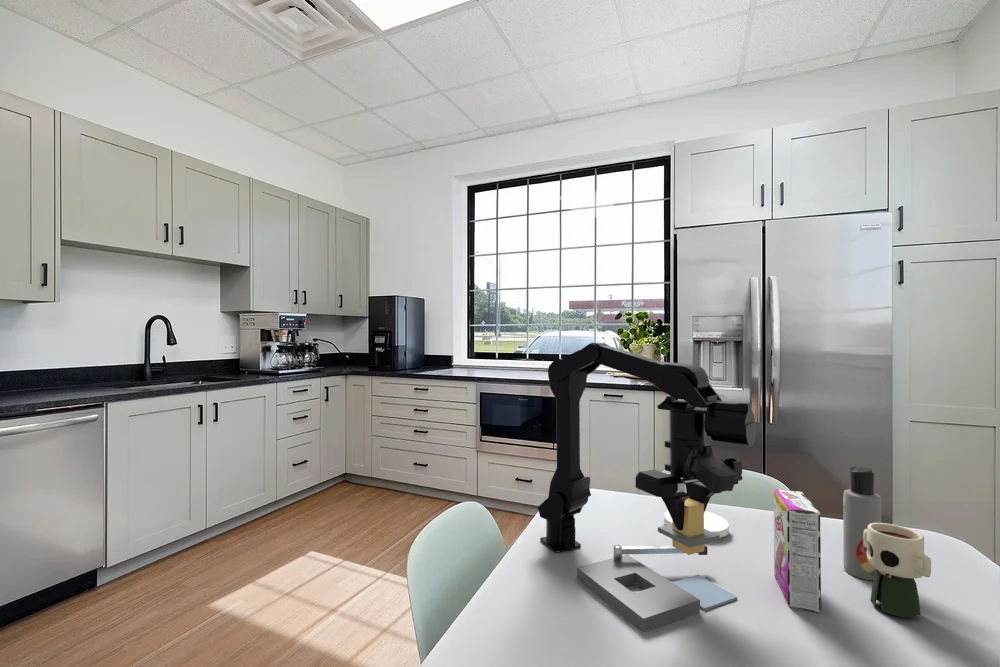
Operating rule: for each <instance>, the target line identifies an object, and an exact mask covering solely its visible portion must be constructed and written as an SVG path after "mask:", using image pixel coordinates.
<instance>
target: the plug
mask: <svg viewBox="0 0 1000 667" xmlns="http://www.w3.org/2000/svg"><path fill="white" fill-rule="evenodd" d="M657 532H658V533H660V534H661V535H664V536H665V537H666V538H667V537H668V538H670V539H671V540H672V543H671V546H673V547H675V548H676V549H678V550H680V551H682V552H684V553H683V554H685V555H686V554H687V555H688V556H690V555H694V554H695V555H696V554H698V553H699V552H703V551H704V544H705V545H706V544H709V543H714V542H717V541H720V540H721V538H720V535H718V534H715V533H713V532H711V531H709V530H706V529H704V504H703V503H700V502H698V501H695V500H693V499H690V498H688V499H687V500H686V501H685V505H684V524H683V530H681V531H680V530H678V529H677V528H676V526H675V524H674V522H673V520H672V524H670V525H661V526H657Z"/></svg>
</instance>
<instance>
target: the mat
mask: <svg viewBox="0 0 1000 667" xmlns="http://www.w3.org/2000/svg"><path fill="white" fill-rule="evenodd" d="M671 582H672V581H671ZM672 583H674V584H675V585H677V586H679V587H680V588H682V589H683V590H685V591H687V592H688V593H690V594H691V595H693V596H695V597H696V598H698V599H699V600H700V610H702V611H703V612H704V611H708V610H710V609H714V608H717V607H719V606H720V607H721V606H722V605H726V604H727V603H730V602H733V601H736V600H738V596H737V595H735V594H733V593H731V592H729V591H728V590H726V589H724V588H722V587H721V586H719V585H717V584H716V583H714V582H712V581H710V580H708V579H706V578H705V577H703V576H702V575H700V574H697V575H694V576H690V577H686V578H683V579H680V580H677V581H673V582H672Z"/></svg>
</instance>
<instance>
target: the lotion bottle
mask: <svg viewBox="0 0 1000 667" xmlns="http://www.w3.org/2000/svg"><path fill="white" fill-rule="evenodd" d="M873 471H874V470H873V469H872V468H869V467H866V466H865V467H863V466H862V467H859V466H853V467H850V468H849V489H845V490H844V491H843V495H842V496H843V500H842V501H843V504H842V506H843V507H842V508H843V510H842V511H843V512H842V514H843V515H842V516H843V517H842V518H843V519H842V520H843V521H842V524H843V525H842V526H843V527H842V528H843V529H842V530H843V531H842V532H843V535H842V536H843V538H842V539H843V544H842V546H843V547H842V548H843V549H842V550H843V552H842V554H843V555H842V556H843V558H842V559H843V560H842V563H843V564H842V566H843V569H844V570H845V572H846V573H848V574H850V575H851V576H853V577H855V578H859V579H863V580H865V581H866V580H867V581H873V579H874V574H875V571H876V570H877V569H875V568H873V567H872V566H871V564H870V563H869V561H868V559H867V548H866V547H865V546H864V543H863V532H864V530H865V529H867V527H868V525H869V524H871V523H882V497H881V496H880V495H878V494H877V493H875V492H876V473H875V472H873Z"/></svg>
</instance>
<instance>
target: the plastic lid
mask: <svg viewBox="0 0 1000 667" xmlns="http://www.w3.org/2000/svg"><path fill="white" fill-rule="evenodd" d="M663 523H664V524H665V525H670V524H672V518H671V516H670V514H669V511H668V510H666V511H665V512H664V513H663ZM665 525H664V526H665ZM704 529H706V530H709V531H711V532H713V533H715V534H718V535H720V539H721V538H724V537H726V536H728V534H730V533H729V532H730V524H729V522H728V521H727V519H725V518H724V517H722V516H720V515H718V514H716V513H713V512H710V511H706V510H705V512H704Z"/></svg>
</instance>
